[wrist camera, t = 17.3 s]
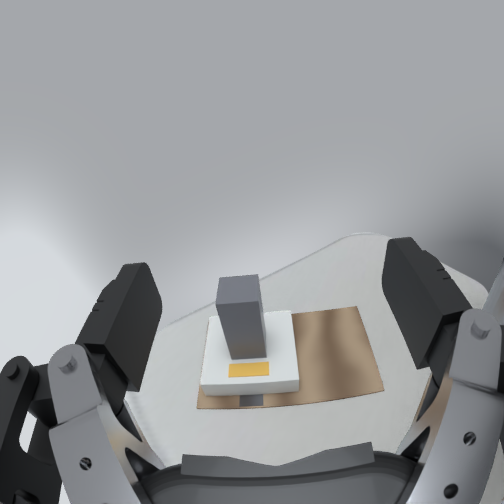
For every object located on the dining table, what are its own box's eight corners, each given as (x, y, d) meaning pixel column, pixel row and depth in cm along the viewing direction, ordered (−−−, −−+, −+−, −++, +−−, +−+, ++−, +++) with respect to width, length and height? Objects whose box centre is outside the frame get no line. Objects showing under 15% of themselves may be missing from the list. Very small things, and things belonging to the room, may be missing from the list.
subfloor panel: (356, 308, 45) (356, 306, 45) (383, 392, 32) (384, 389, 31) (209, 323, 47) (208, 320, 46) (197, 410, 33) (196, 408, 33)
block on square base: (291, 323, 44) (287, 253, 37) (298, 391, 34) (299, 324, 27) (213, 329, 45) (193, 262, 37) (205, 395, 35) (175, 332, 27)
